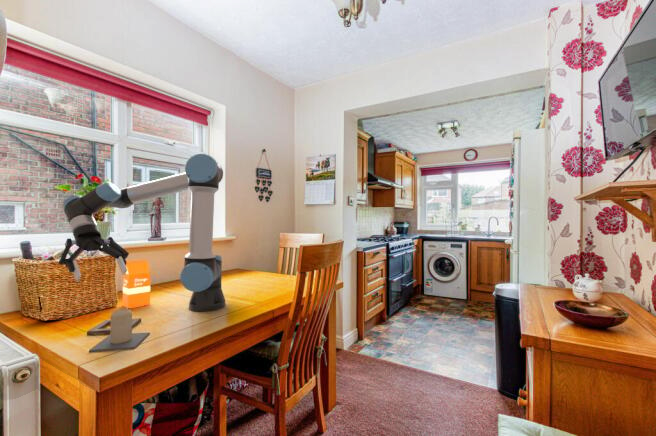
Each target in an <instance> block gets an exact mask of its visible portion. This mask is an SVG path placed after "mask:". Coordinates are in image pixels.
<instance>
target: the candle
mask: <svg viewBox="0 0 656 436" xmlns="http://www.w3.org/2000/svg"><path fill="white" fill-rule="evenodd" d="M132 318H133V312H132V310H130V308H129V309H128V308H126V307H120V308H119V309H118V308H115V309H114V311H112V312H111V314H110V320H111V325H110V328H111V333H110V334H109V335H110V342H111V343H112V344H120V343H125V342H128V341H130V340H131V338H132V332H133V328H132Z"/></svg>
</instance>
